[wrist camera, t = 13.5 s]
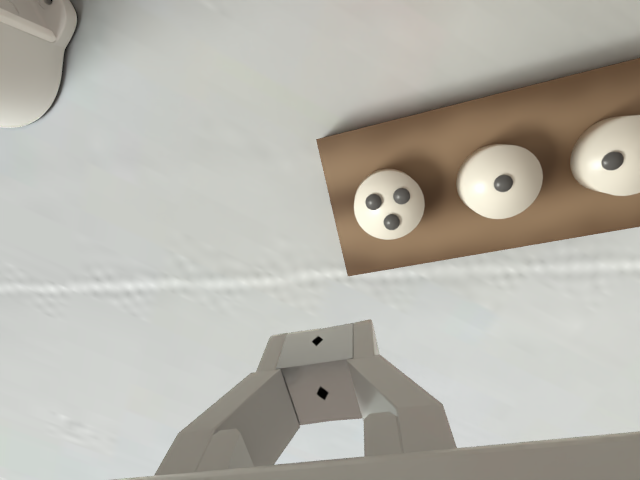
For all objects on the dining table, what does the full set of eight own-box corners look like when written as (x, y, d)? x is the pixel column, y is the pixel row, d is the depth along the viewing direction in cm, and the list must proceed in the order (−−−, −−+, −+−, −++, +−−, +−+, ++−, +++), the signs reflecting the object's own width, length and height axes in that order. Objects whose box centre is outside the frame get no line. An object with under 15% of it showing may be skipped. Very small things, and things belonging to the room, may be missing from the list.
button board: (320, 139, 29) (316, 139, 26) (646, 57, 24) (683, 46, 22) (349, 263, 32) (348, 276, 29) (641, 212, 28) (673, 220, 25)
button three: (348, 176, 26) (347, 180, 24) (414, 161, 25) (419, 164, 23) (361, 237, 28) (361, 246, 26) (424, 225, 27) (429, 233, 25)
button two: (569, 126, 23) (589, 126, 21) (653, 107, 22) (682, 105, 20) (571, 197, 25) (590, 203, 23) (650, 182, 24) (678, 187, 22)
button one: (452, 153, 25) (460, 155, 23) (526, 136, 24) (542, 136, 22) (460, 218, 26) (469, 226, 24) (531, 205, 25) (546, 211, 23)
